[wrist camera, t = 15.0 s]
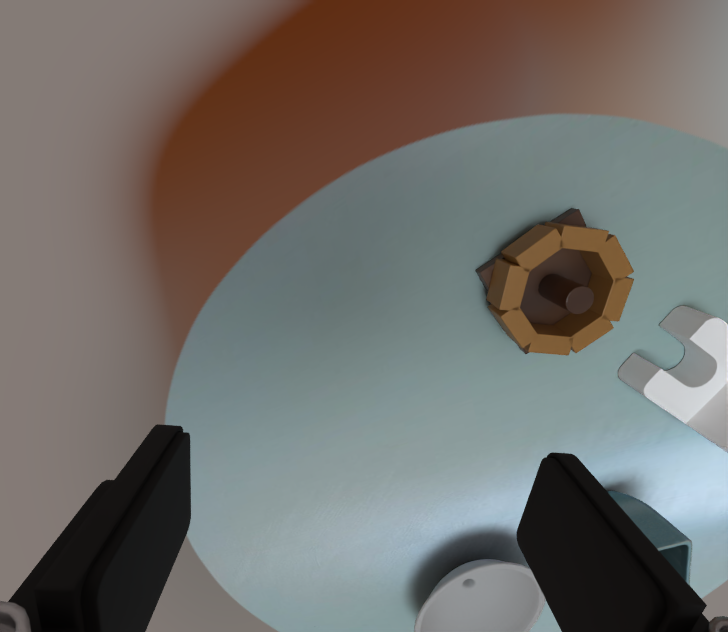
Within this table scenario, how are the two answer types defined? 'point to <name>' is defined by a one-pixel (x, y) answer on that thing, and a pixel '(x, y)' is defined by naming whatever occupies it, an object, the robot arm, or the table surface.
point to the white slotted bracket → (689, 374)
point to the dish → (483, 599)
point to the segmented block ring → (604, 283)
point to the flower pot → (658, 532)
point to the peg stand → (553, 282)
